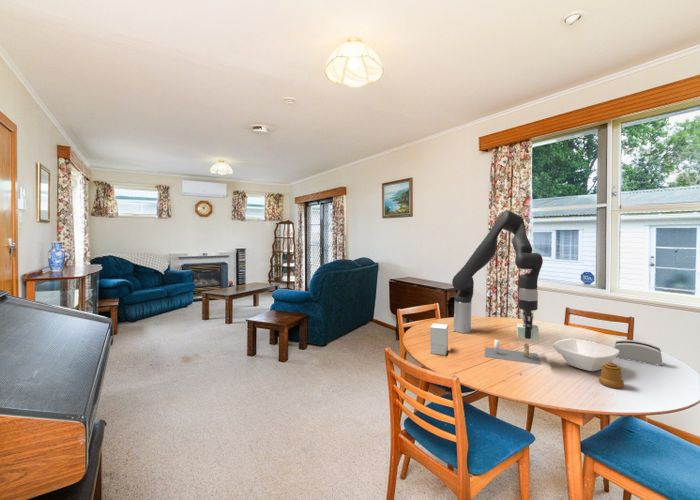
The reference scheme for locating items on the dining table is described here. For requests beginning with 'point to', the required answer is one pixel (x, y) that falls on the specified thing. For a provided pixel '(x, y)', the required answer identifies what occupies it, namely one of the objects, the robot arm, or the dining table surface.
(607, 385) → the ornamental finial
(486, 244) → the robot arm
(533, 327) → the collar
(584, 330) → the dining table surface
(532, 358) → the board
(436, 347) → the supplement box
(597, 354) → the bowl
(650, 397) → the dining table surface
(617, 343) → the grey curved slab
